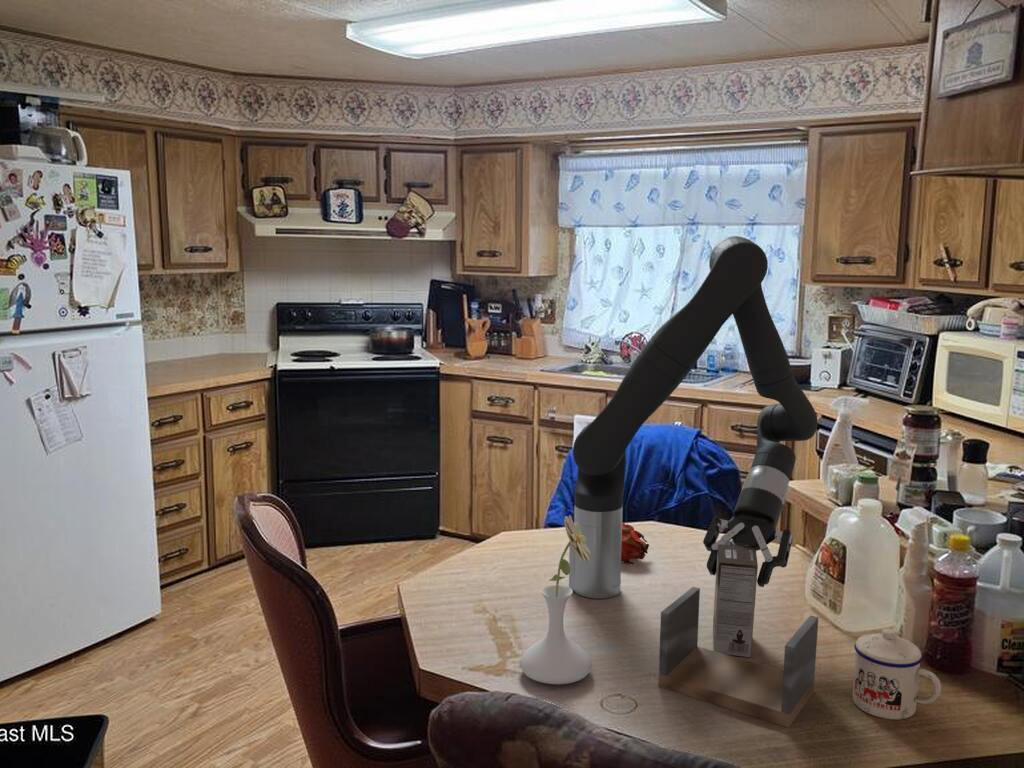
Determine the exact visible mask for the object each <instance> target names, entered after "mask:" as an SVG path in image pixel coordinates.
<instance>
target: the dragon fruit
mask: <svg viewBox="0 0 1024 768" xmlns="http://www.w3.org/2000/svg"><path fill="white" fill-rule="evenodd" d="M649 547H650V544H649V543H648V541H647V540H646V539H645V536H644V535H643V534H642V533H641V532H639V531H637V530H635V528H634V526H632V525H630V524H629V523H625V522H622V548H621V563H623V564H624V565H636V563H634V562H633V561H631V560H642V561H643V560H644V558H645V557H646V554H648V550H649Z"/></svg>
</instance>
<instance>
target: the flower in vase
mask: <svg viewBox="0 0 1024 768" xmlns="http://www.w3.org/2000/svg"><path fill="white" fill-rule="evenodd" d="M563 523H564V528H565V531H566V535H567V538H568V540H569V541H568V542H567V544H566V546H565V548H564V550H563V552H562V554H561V557H560V560H559V563H558V568H557V573H556V574H554V576H552V578H550V579H549V580H548V581H549V582H550V581H551V582H556V584H549V585H545V586H543V587H542V588H540V593H541V595H542V596H543V598H544V599H545V602H546V604H547V609H548V622H549V623H548V631H547V634H546V635H545V636H544V637H543V638H542V639H540V640H538V641H537V642H535V643H534V644H532V645H531V646H530V647H528V648H527V649H526V650H525V651H524V652H523V653H522V655H521V657H520V659H519V668H520V669H521V670H522V672H523V674H524V675H525V676H527V678H529V679H532V680H533V681H535V682H539V683H542V684H547V685H548V684H549V685H567V684H572V683H575V682H578V681H580V680H581V681H582V680H583V679H585V678H586V677H587V675H589V674H590V672H591V671H592V667H593V663H592V661H591V658H590V655H589V654H588V653H587V652H586V651H585V650H584V649H583V648H582V647H581V646H579V645H578V644H577V643H575V642H573V641H572V640H571V639H570V638H568V637H567V636H566V634H565V630H564V615H565V610H566V606H567V604H568V603H567V602H568V600H569V599H570V597H571V596H572V595H573V592H574V590H572V589H571V588H569V586H567V585H565V584H559V583H560V581H561V580H562V579H565V578H566V576H569V573H570V566H569V560H567V559H564V557H565V556H566V553H567V551H568V550H569V547H570V544H572V547H573V550H574V551H575V553H576V554H577V556H578V557H579V558H580V560H581V561H582V562H583V561H584V562H585V563H586V562H588V561H590V559H589V557H588V555H587V554H586V553H588V554H591V552H590V550H589V549H588V547H587V545H586V544H585V542H586V541H587V540H586V537H585V536H584V535H582V533H581V531H580V530H579V525H578V523H577V522H576V524H574V519H573V518H572V516H571V514H570V515H568V516H566V515H565V516H564V521H563ZM587 560H588V561H587ZM561 572H562V573H563V574H564V575H566V576H561V575H560V573H561Z"/></svg>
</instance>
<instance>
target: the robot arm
mask: <svg viewBox="0 0 1024 768" xmlns="http://www.w3.org/2000/svg"><path fill="white" fill-rule="evenodd" d="M708 263H709V265H708V266H709V272H708V274H707V275H706V277H705V279H704V281H703V282H702V284H701V285H700V287H699V288H698V290H696V293H695V294H694V295H693V296H692V297H691V299H690V300H689V301H688V302H687V303H686V304H685V305H684V306H683V307H682V308H681V309H680V310H678V311H677V312H676V313H675V314H674V315H672V316H671V317H669V319H668V320H666V321H665V322H664V323H663V324H662V325H661V326H660V327H659V328H658V329H657V330H656V332H654V333H653V335H652V336H651V337H650V339H649V340H648V341H647V343H646V344H645V345H644V347H643V348H642V349H641V351H640V352H639V353H638V355H637V356H636V358H635V359H634V361H633V362H632V364H631V365H630V367H629V368H628V371H627V372H626V374H625V375H624V377H623V379H622V380H621V382H620V384H619V386H618V387H617V389H616V390H615V393H614V395H613V396H612V398H611V399H610V401H609V402H608V404H607V405H606V406H604V408H603V409H602V411H600V413H599V414H598V415H597V416H596V417H595V418H594V419H593V420H592V421H591V422H590V423H587V425H585V427H583V428H582V429H581V431H580V432H579V433H578V435H577V436H576V437H575V439H574V443H573V446H572V456H573V461H574V464H575V465H576V467H577V476H576V477H577V479H576V484H575V489H574V504H573V505H574V513H573V515H574V517H573V523H574V524H576V522H577V523H578V525H579V530H580V531H581V533H582V535H584V536H585V537H586V540H587V541H586V542H585V544H586V545H587V547H588V549H589V550H590V552H591V554H588V553H586V554H587V555H588V557H589V559H590V561H588V560H587V561H588V562H586V563H585V562H584V561H583V562H582V561H581V560H580V558H579V557H578V556H577V554H576V553H575V551H574V550H573V547H572V544H570V546H569V547H568V550H569V556H568V557H569V560H568V563H569V566H570V573H569V574H568V587H569V588H571V589H572V590H573V592H574V593H576V594H577V595H579V596H581V597H584V598H585V597H586V598H589V599H608V598H609V599H610V598H613V597H615V596H617V595H618V594H620V592H621V584H622V582H621V581H622V579H621V577H622V576H621V575H622V561H621V548H622V523H623V506H624V505H623V504H624V503H623V501H624V492H625V484H626V483H625V481H626V459H627V457H626V456H627V449H628V447H629V445H630V443H631V442H632V440H633V439H634V437H635V436H636V434H637V432H639V430H640V429H641V427H643V425H644V423H645V422H646V421H647V420H648V419H649V418H650V417H651V416H652V415H653V414H654V413H655V412H656V411H657V410H658V409H659V408H660V407H661V406H662V405H663V404H664V403H665V402H666V400H667V399H668V398H670V396H671V395H672V394H673V393H674V391H675V390H676V389H677V388H678V386H680V385H681V384H682V382H683V381H684V379H685V378H686V377H687V376H688V374H689V373H690V371H692V369H693V368H694V366H695V365H696V364H697V362H698V360H699V359H700V358H701V357H702V355H703V354H704V353H705V351H706V350H707V348H708V347H709V346H710V345H711V343H712V342H713V340H714V338H715V337H716V336H717V334H718V332H719V331H720V329H722V327H723V326H724V325H725V323H726V322H727V320H728V319H729V318H730V317H731V316H733V318H734V322H735V324H736V327H737V330H738V334H739V336H740V340H741V344H742V348H743V351H744V354H745V358H746V361H747V364H748V365H747V366H748V367H749V371H750V374H751V378H752V380H753V383H754V387H755V390H756V391H757V394H758V395H759V396H761V397H762V398H764V399H765V398H766V399H769V400H774V401H776V402H778V403H773V404H768V405H767V406H764V408H762V410H761V411H760V412H759V414H758V416H757V420H756V421H757V423H756V425H757V426H756V427H757V428H756V431H757V432H756V434H757V435H756V451H755V455H754V457H753V460H752V462H751V463H752V464H751V465H750V470H749V472H748V474H747V475H746V477H745V480H744V482H743V486H742V488H741V491H740V494H739V496H738V499H737V501H736V505H735V509H734V511H733V515H732V517H731V518H730V519H729V520H726V519H722V518H721V517H720V516H719V515H714V516H713V517H712V520H711V522H710V524H709V527H708V529H707V530H706V533H705V535H704V538H703V540H702V543H703V545H704V547H705V548H706V551H707V552H710V553H709V556H708V558H707V562H706V569H707V570H708V573H709V574H710V575H711V576H716V567H717V552H718V544H722V545H737V546H749V547H755V549H756V552H758V551H761V554H762V555H763V557H764V561H762V564H761V567H760V570H759V573H758V575H757V585H758V587H760V588H764V587H765V585H766V586H767V585H768V584H769V582H770V581H771V576H772V573H773V571H774V569H775V568H777V567H780V568H784V569H785V568H786V567H787V566H788V562H789V557H790V553H791V548H792V545H793V540H794V538H793V536H792V533H791V531H790V529H788V528H787V529H784V530H783V531H781V530H776V529H777V527H778V523H779V521H780V520H779V519H780V517H781V514H782V511H783V508H784V504H785V503H786V501H787V500H786V499H787V495H788V489H789V484H790V480H791V478H792V474H793V471H794V468H795V465H796V459H797V457H796V454H795V452H794V450H793V449H792V448H791V447H789V446H788V445H785V444H784V443H781V442H801V441H802V442H803V441H808V440H810V439H812V438H813V437H814V436H815V434H816V432H817V429H818V423H819V422H818V417H817V413H816V411H815V408H814V406H813V405H812V403H811V401H810V400H809V398H808V397H807V395H806V394H805V392H804V391H803V389H802V388H801V386H800V385H799V383H798V382H797V380H796V379H795V376H794V372H793V369H792V367H791V366H792V365H791V363H790V360H789V357H788V354H787V351H786V347H785V345H784V343H783V341H782V338H781V336H780V333H779V331H778V328H777V327H776V324H775V322H774V320H773V318H772V316H771V312H770V310H769V308H768V305H767V302H766V298H765V295H764V291H763V287H762V286H763V285H762V283H763V281H764V280H765V278H766V275H767V273H768V265H769V261H768V257H767V255H766V252H765V251H764V249H763V248H762V247H760V246H759V245H758V244H757V243H755V241H752V240H751V239H749V238H746V237H743V236H737V235H735V236H734V235H733V236H728V237H725V238H723V239H720V241H718V243H716V244H715V245H714V247H713V249H712V250H711V253H710V255H709V262H708ZM725 529H728V531H727V532H726V533H725V534H723V535H722V536H721V538H720V539H718V538H719V535H720V533H723V532H724V531H725ZM775 539H777V542H778V544H779V547H778V550H777V551H778V552H777V555H775V556H772V554H771V552H770V549H769V546H768V545H769V544H770V543H771V542H773V541H774V540H775Z"/></svg>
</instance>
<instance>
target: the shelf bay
mask: <svg viewBox="0 0 1024 768" xmlns="http://www.w3.org/2000/svg"><path fill="white" fill-rule="evenodd" d="M700 590H701V588H699V587H696V586H692V587H691V588H689V589H688V590H687V591H686V592H685V593H683V594H682V595H681V596H679V597H678V598H677V599H675V600H674V601H673V602H672V603H670V604H669V605H668V606H666V607H665V608H664V609H663V610H662V611H661V612H660V626H659V627H660V632H659V655H658V656H659V658H658V660H659V663H658V687H661V688H664V689H665V690H670V691H673V692H676V693H679V694H682V695H686V696H689V697H692V698H695V699H698V700H701V701H704V702H708V703H711V704H713V705H716V704H717V706H719V707H720V706H721V707H722V708H727V709H730V710H733V711H736V712H740V713H742V714H746V715H749V716H752V717H754V718H758V719H761V720H764V721H767V722H769V723H773V724H776V725H780V726H783V727H786V728H790V727H791V725H792V724H793V722H794V721H795V720H796V718H797V716H798V715H799V713H800V712H801V711H802V709H803V708H804V706H805V705H806V703H807V702H808V700H809V699H810V698H811V696H812V695H813V693H814V689H815V675H816V674H815V673H816V660H817V659H816V658H817V647H818V646H817V645H818V632H819V631H818V629H819V627H818V626H819V616H814V615H812V614H811V615H810V614H809V616H808V617H807V619H806V620H804V622H803V623H802V625H801V626H800V627H799V628H798V629H797V630H796V632H795V633H794V634H793V635H792V636H791V638H789V640H788V641H787V642H786V643H785V645H784V654H783V655H784V657H783V659H784V660H783V669H782V670H781V669H778V668H775V667H771V666H768V665H764V664H760V663H758V662H754V661H750V660H747V659H744V658H743V659H742V658H739V657H737V656H734V655H726V654H723V653H719V652H715V651H713V649H708V648H705V647H701V646H698V642H699V641H698V639H699V619H700V618H699V617H700V616H699V615H700V593H701V592H700Z"/></svg>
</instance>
